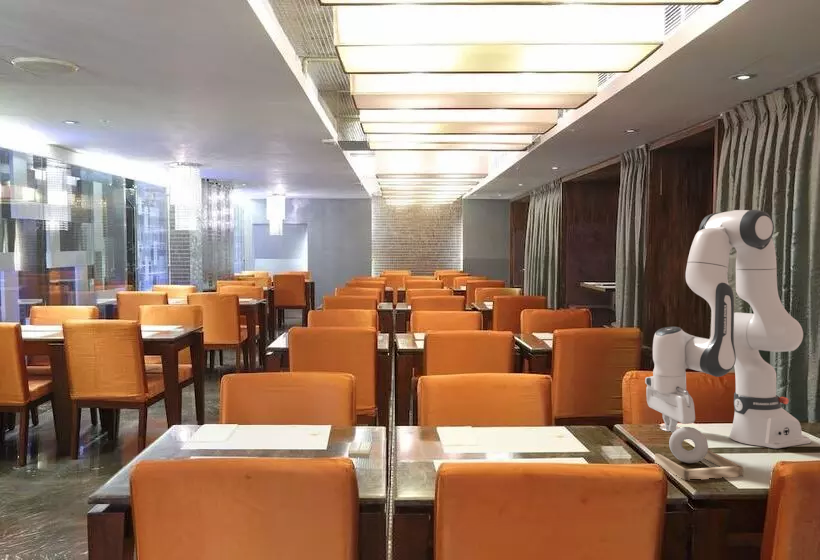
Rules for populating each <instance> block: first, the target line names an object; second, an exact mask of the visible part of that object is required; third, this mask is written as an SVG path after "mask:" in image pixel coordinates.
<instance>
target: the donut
mask: <svg viewBox="0 0 820 560" xmlns="http://www.w3.org/2000/svg"><path fill="white" fill-rule="evenodd" d="M681 427H682V426H681ZM671 433H672V434H671V435H670V437H669V441H668V443H669V444H668V445H669V449H670V451H671V454H672V455H673V456H674V457H675V458H676V459H678V460H679V461H680V462H683V463H686V464H696V463H698V462H700V461H702V460H703V459H705V455H706V454H707V451H708V450H709V443H708V440H707V438H706V436H705V434H703V433H702V432H701V431H700V430H699V429H697V428H695V427H690V426H683V427H682V428H679V429H677V430H676V431H674V432H671ZM685 440H690V441H692V442H693V444H694V447H693V449H692V450H687V449H685V448H684V447H683V442H684V441H685Z"/></svg>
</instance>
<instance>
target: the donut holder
mask: <svg viewBox="0 0 820 560" xmlns="http://www.w3.org/2000/svg"><path fill="white" fill-rule="evenodd" d="M704 459H706V461H707V460H708V462H709V461H710V462H709V463H711V462H712V464H713V463H714V464H713V465H715V464H716V465H715V467H701V468H700V467H698V468H686V467H683V466H681V465H679V464H678V463H676V462H674V461H673V460H671V459H669V458H668V457H666V456H664V455H662V454H660V453H654V464H656V463H657V464H656V465H658V464H659V465H661V466H662V467H661V466H660V467H661V468H662V469H665V470H667V471H668V472H669V473H670V474H672V475H674V476H676V475H677V476H676V477H678V478H679V477H680V478H679V479H681V478H682V479H681V480H683V479H684V480H688V481H691V480H690V479H701V480H710V479H709V478H715V479H723V478H722V477H728V478H738V476H742V477H744V471H743V469H744V467H743V466H742V465H740V464H738V463H736V462H733V461H732V460H730V459H729V458H725V457H724V456H722V455H720V454H717V453H716V452H714V451H712V450H709V449H708V451H707V454H706V455H705V457H704ZM659 465H658V466H659ZM717 465H718V466H717ZM719 466H720V467H719ZM684 480H683V481H684Z"/></svg>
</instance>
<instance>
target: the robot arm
mask: <svg viewBox="0 0 820 560" xmlns="http://www.w3.org/2000/svg"><path fill="white" fill-rule="evenodd" d="M774 225H775V224H774V220H773V218H772V217H771V216H770V214H769V213H768V212H767V211H763V210H761V209H750V210H749V209H734V210H729V211H724V212H714V213H711V214H708V215H706V216H705V217H704V218H703V219H702V220H701V223H700V224H699V227H698V231H697V232H696V234H695V235H694V238H693V240H692V242H691V246H690V249H689V254H688V257H687V260H686V261H687V263H686V268H685V282H686V284H687V286H688V287H689V289H691V291H692V292H693V293H694V294H696V295H697V296H699V297H701V298H702V299H704V300H705V301H706V302H707V303H708V305H709V307H710V310H711V322H710V323H711V324H710V327H711V329H710V337H709V338H705V337H701V336H700V337H699V336H695V335H692V334H689V333H687V332H685V331H684V330H683V329H682V328H681V327H679V326H666V327H661V328H659V329H658V330H656V331H655V333H654V335H653V340H652V361H653V364H654V368H653V370H652V375H651V376H646V377H645V379H644V384H646V391H645V392H646V393H645V395H646V403H647V406H648V407H649V408H650V409H652V410H655V411H656V412H659V413H661V414H662V420H663V422H664V425H665V429H667V430H669V431H671V432H670V433H673V432H674V431H676V426H678V425H677V424H678V423H680V424H684V425H686V424H687V425H688V424H694V423H695V421H696V412H695V403H694V399H693V397H692V396H691V395H690V393H689V391H688V390H687V372H686V370H687V369H690V370H693V371H697V372H701V373H705V374H708V375H711V376H713V377H717V378H718V377H719V378H720V377H724V376H725V375H727V374H729V372H730V371H731V370H732V369H733V368H734V374H735V375H734V376H735V378H734V379H735V380H734V381H735V392H734V393H733V406H734V407H733V408H734V413H733V414H734V415H733V421H732V426H731V430H730V433H729V438H730V439H731V440H733V441H736V442H738V443H742V444H746V445H752V446H758V447H759V446H760V447H766V448H771V449H782V448H788V447H795V446H800V445H801V446H802V445H807V444H811V438H810V437H808V436H806V435H804V434H803V432H802V426H801V423H800V421H799V419H797V418H796V417H795V416H793V415H792V414H790V413H789V412H788V411H787V410H785V409H784V408H783V407H782V404H784V405H788V403H789V402H790V400H789V398H788V397H785V396H779V395H778V394H777V372H776V370H775V368H774V367H773V365H772V364H770V363H769V362H767V361H766V360H765V359H763V357H762V356H761V353H760V351H764V352H773V353H782V352H783V353H784V352H794V351H795V350H797V349H798V348H799V346H800V345H801V344H802V342H803V338H804V331H803V328H802V325H801V324H800V322H799V321H798V320H797V319H795V318H794V317H793V316H792V315H791V314H790V313H789V312H788V311H787V310H786V309H785V306H783V303H782V301H781V299H780V296H779V291H778V276H777V274H778V273H777V272H778V271H777V270H778V269H777V267H778V266H777V265H778V264H777V254H776V248H775V244H774V241H773V236H774V232H775V226H774ZM733 248H734V249H735V251H736V256H735V257H736V258H735V291H736V294H737V296H738V297H739V298H740V299H741V300H743V301H745V302H746V303H748V305H749V306H750V307H751V309H752V311H753V313H751V312H750V313H748V312H737V311H736V312H735V295H734V291H733V288H732V287H731V286H730V283H729V281H728V270H729V262H730V253H731V252H730V251H731V250H732V249H733ZM669 431H668V432H669Z"/></svg>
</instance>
